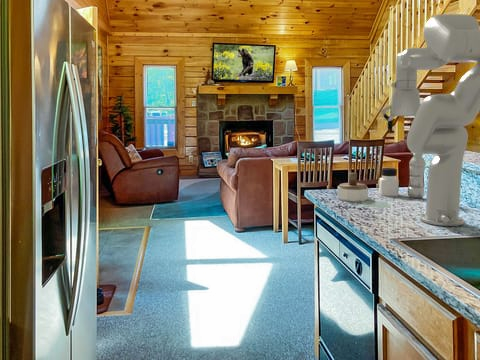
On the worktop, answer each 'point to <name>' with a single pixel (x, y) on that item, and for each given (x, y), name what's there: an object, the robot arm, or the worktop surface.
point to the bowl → (352, 194)
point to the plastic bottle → (416, 176)
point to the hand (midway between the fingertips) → (403, 131)
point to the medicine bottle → (389, 182)
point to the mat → (374, 204)
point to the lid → (352, 183)
